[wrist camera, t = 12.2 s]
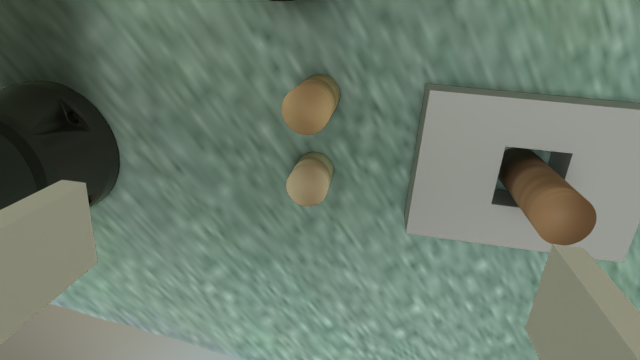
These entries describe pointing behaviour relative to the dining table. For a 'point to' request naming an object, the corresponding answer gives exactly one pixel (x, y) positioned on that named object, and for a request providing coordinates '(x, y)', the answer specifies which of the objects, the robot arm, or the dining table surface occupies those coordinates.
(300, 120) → the medium pin
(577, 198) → the long pin
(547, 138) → the hole board
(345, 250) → the dining table surface
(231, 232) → the dining table surface
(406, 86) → the dining table surface
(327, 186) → the short pin
